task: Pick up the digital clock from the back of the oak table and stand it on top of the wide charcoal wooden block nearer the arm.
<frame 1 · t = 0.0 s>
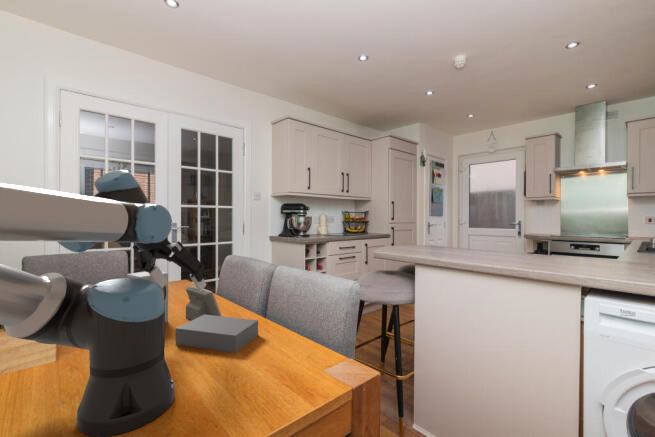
hand: (183, 286, 87), 15 cm above the table, tool tilted 35°, fingers open, 13 cm apart
supplement box: (147, 323, 100), on the table
charcoal block: (218, 341, 87), on the table
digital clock: (203, 318, 106), on the table
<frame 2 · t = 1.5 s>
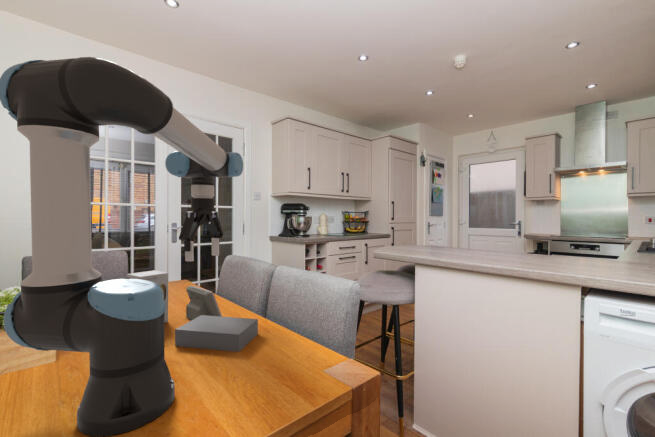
hand: (203, 258, 105), 21 cm above the table, tool pointing down, fingers open, 13 cm apart
nothing on the table moved.
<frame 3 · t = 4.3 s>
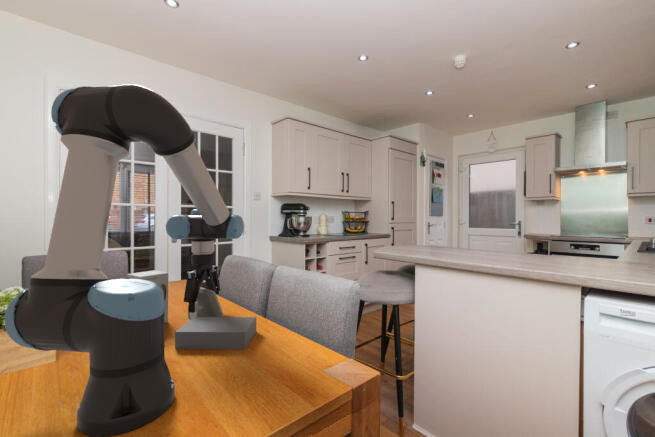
hand: (203, 316, 106), 0 cm above the table, tool pointing down, fingers open, 9 cm apart
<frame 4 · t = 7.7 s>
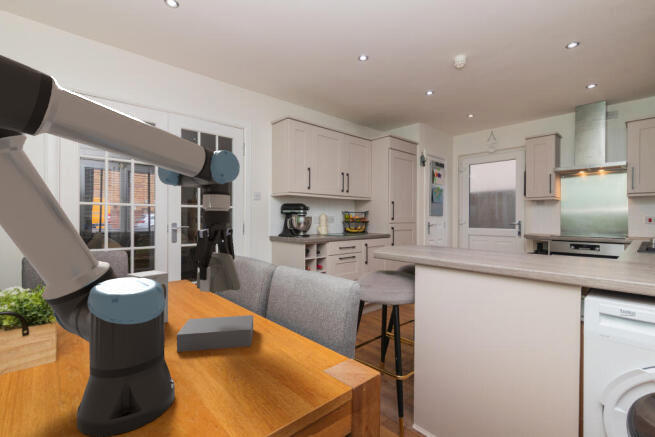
hand: (215, 287, 87), 15 cm above the table, tool pointing down, fingers closed on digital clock, 9 cm apart
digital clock: (218, 288, 88), point 14 cm above the table, touching gripper
when the fingers open (6 cm above the table, at t = 10.4 s): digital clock drops 2 cm, resting on charcoal block.
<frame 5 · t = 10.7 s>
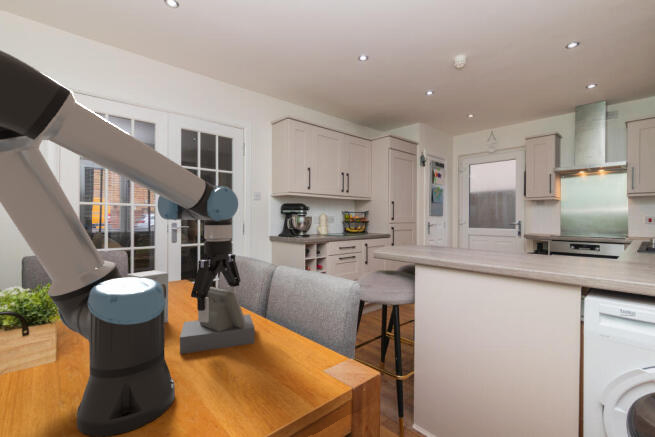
hand: (218, 314, 87), 7 cm above the table, tool pointing down, fingers open, 12 cm apart
charcoal block: (218, 341, 87), on the table, touching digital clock
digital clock: (221, 324, 87), point 4 cm above the table, touching charcoal block
everything else where it was.
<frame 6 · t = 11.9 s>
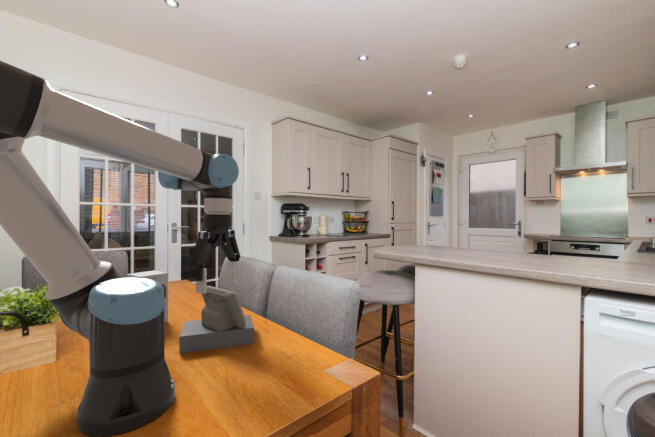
hand: (217, 287, 86), 15 cm above the table, tool pointing down, fingers open, 13 cm apart
charcoal block: (218, 341, 87), on the table
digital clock: (223, 325, 87), point 4 cm above the table
everything else where it was.
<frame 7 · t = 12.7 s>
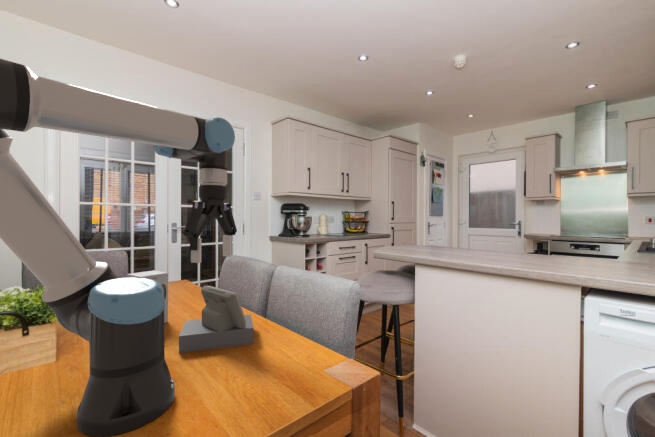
hand: (212, 259, 86), 23 cm above the table, tool pointing down, fingers open, 13 cm apart
charcoal block: (218, 341, 87), on the table, touching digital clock
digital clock: (223, 325, 87), point 4 cm above the table, touching charcoal block
everything else where it was.
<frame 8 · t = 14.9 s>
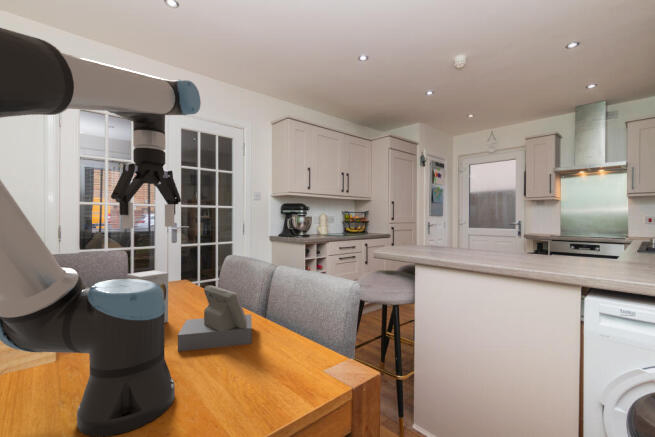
hand: (150, 227, 82), 33 cm above the table, tool pointing down, fingers open, 13 cm apart
at the end: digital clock inside the target area on the charcoal block (2.4 cm from its centre), point 4.8 cm above the charcoal block's base; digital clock tilted 0°; the gripper is holding nothing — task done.
